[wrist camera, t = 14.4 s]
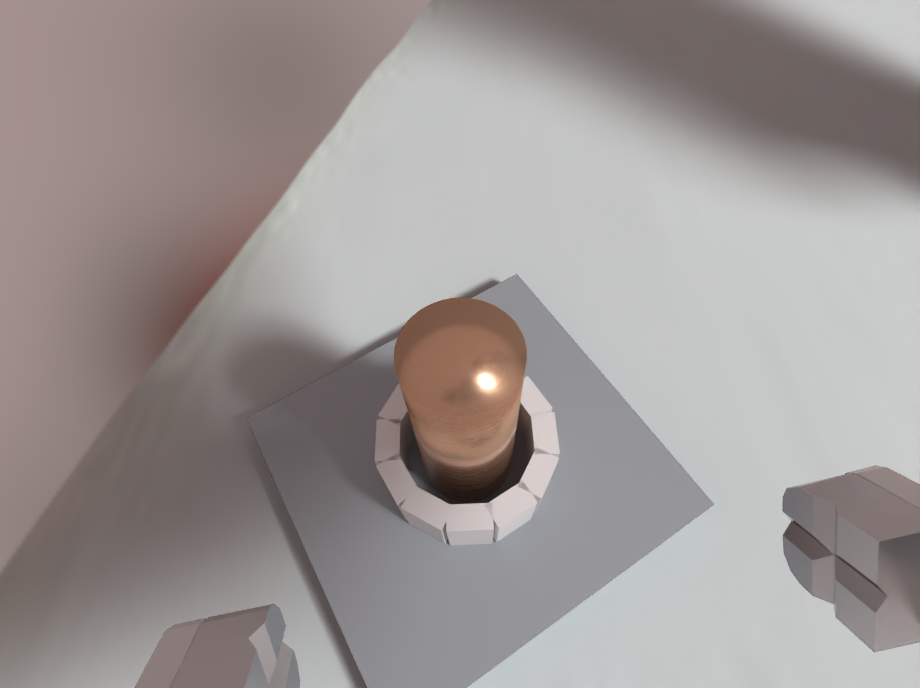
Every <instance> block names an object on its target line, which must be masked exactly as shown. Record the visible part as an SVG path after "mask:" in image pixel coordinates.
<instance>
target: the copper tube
mask: <svg viewBox="0 0 920 688" xmlns="http://www.w3.org/2000/svg"><path fill="white" fill-rule="evenodd" d="M526 361H527V348H526V343H525V340H524V337H523V334H522V332H521V330H520V328H519V327H518V325H517V324H516V323H515V321H514V320H513V319H512V318H511V317H510V316H509V315H508V314H507V313H505V312H504V311H503V310H501V309H500V308H498V307H496V306H494V305H492V304H490V303H488V302H485V301H482V300H477V299H472V298H451V299H446V300H441V301H438V302H435V303H433V304H431V305H428V306H426V307H425V308H423V309H421V310H420V311H418V312H417V313H416V314H415V315H413V316H412V317H411V318H410V319H409V320H408V321H407V323H406V324H405V325H404V327H403V328H402V330H401V332H400V333H399V336H398V338H397V340H396V344H395V348H394V366H395V371H396V374H397V377H398V381H399V384H400V387H401V391H402V394H403V397H404V401H405V404H406V407H407V410H408V414H409V417H410V420H411V424H412V427H413V430H414V434H415V437H416V440H417V443H418V447H419V450H420V453H421V457H422V460H423V463H424V467H425V470H426V473H427V476H428V478H429V480H430V482H431V483H432V484H433V486H434V487H435V488H436V489H437V490H438V491H439V492H440V493H442V494H443V495H445V496H446V497H449V498H451V499H453V500H457V501H462V502H472V501H478V500H482V499H484V498H487V497H488V496H490V495H492V494H493V493H495V492H496V491H497V490H498V489H499V488H500V487H501V486H502V484H503V483H504V482H505V480H506V478H507V476H508V473H509V470H510V466H511V459H512V453H513V446H514V440H515V433H516V427H517V420H518V414H519V407H520V401H521V394H522V388H523V381H524V375H525V368H526Z"/></svg>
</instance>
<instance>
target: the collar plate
mask: <svg viewBox="0 0 920 688" xmlns="http://www.w3.org/2000/svg"><path fill="white" fill-rule="evenodd" d="M472 299H477V300H482V301H485V302H488V303H490V304H492V305H494V306H496V307H498V308H500V309H501V310H503V311H504V312H505V313H507V314H508V315H509V316H510V317H511V318H512V319H513V320H514V321H515V323H516V324H517V325H518V327H519V328H520V330H521V332H522V334H523V337H524V340H525V343H526V348H527V361H526V368H525V375H524V381H523V388H522V394H521V401H520V407H519V414H518V420H517V427H516V433H515V440H514V446H513V453H512V459H511V466H510V470H509V473H508V476H507V478H506V480H505V482H504V483H503V484H502V486H501V487H500V488H499V489H498V490H497V491H496V492H495V493H493V494H492V495H490V496H488V497H487V498H484V499H482V500H478V501H472V502H462V501H457V500H453V499H451V498H449V497H446V496H445V495H443V494H442V493H440V492H439V491H438V490H437V489H436V488H435V487H434V486H433V484H432V483H431V482H430V480H429V478H428V476H427V473H426V470H425V467H424V463H423V460H422V457H421V453H420V450H419V447H418V443H417V440H416V437H415V434H414V430H413V427H412V424H411V420H410V417H409V414H408V410H407V407H406V404H405V401H404V397H403V394H402V391H401V387H400V384H399V381H398V377H397V374H396V371H395V366H394V348H395V344H396V340H397V338H398V337H397V338H395V339H394V340H392V341H390V342H388V343H386V344H384V345H382V346H380V347H379V348H377V349H375V350H373V351H371V352H369V353H367V354H365V355H364V356H362V357H360V358H358V359H356V360H354V361H352V362H350V363H349V364H347V365H345V366H343V367H341V368H339V369H337V370H335V371H334V372H332V373H330V374H328V375H326V376H324V377H322V378H320V379H319V380H317V381H315V382H313V383H311V384H309V385H307V386H305V387H304V388H302V389H300V390H298V391H296V392H294V393H292V394H290V395H289V396H287V397H285V398H283V399H281V400H279V401H277V402H275V403H274V404H272V405H270V406H268V407H266V408H264V409H262V410H260V411H259V412H257V413H255V414H253V415H251V416H249V417H247V418H246V419H247V421H248V424H249V426H250V428H251V430H252V433H253V435H254V437H255V439H256V441H257V444H258V446H259V448H260V450H261V453H262V455H263V457H264V459H265V462H266V464H267V466H268V468H269V470H270V473H271V475H272V477H273V479H274V482H275V484H276V486H277V488H278V490H279V493H280V495H281V497H282V499H283V502H284V504H285V506H286V508H287V510H288V513H289V515H290V517H291V519H292V522H293V524H294V526H295V528H296V531H297V533H298V535H299V537H300V539H301V542H302V544H303V546H304V548H305V551H306V553H307V555H308V557H309V559H310V562H311V564H312V566H313V568H314V571H315V573H316V575H317V577H318V580H319V582H320V584H321V586H322V588H323V591H324V593H325V595H326V597H327V600H328V602H329V604H330V606H331V608H332V611H333V613H334V615H335V617H336V620H337V622H338V624H339V626H340V628H341V631H342V633H343V635H344V637H345V640H346V642H347V644H348V646H349V649H350V651H351V653H352V655H353V657H354V660H355V662H356V664H357V666H358V669H359V671H360V673H361V675H362V677H363V680H364V682H365V684H366V686H367V688H467V687H468V686H470V685H471V684H472V683H474V682H475V681H476V680H478V679H479V678H480V677H482V676H483V675H484V674H486V673H487V672H488V671H490V670H491V669H493V668H494V667H495V666H497V665H498V664H499V663H501V662H502V661H503V660H505V659H506V658H507V657H509V656H510V655H511V654H513V653H514V652H516V651H517V650H518V649H520V648H521V647H522V646H524V645H525V644H526V643H528V642H529V641H530V640H532V639H533V638H534V637H536V636H537V635H539V634H540V633H541V632H543V631H544V630H545V629H547V628H548V627H549V626H551V625H552V624H553V623H555V622H556V621H557V620H559V619H560V618H561V617H563V616H564V615H566V614H567V613H568V612H570V611H571V610H572V609H574V608H575V607H576V606H578V605H579V604H580V603H582V602H583V601H584V600H586V599H587V598H589V597H590V596H591V595H593V594H594V593H595V592H597V591H598V590H599V589H601V588H602V587H603V586H605V585H606V584H607V583H609V582H610V581H612V580H613V579H614V578H616V577H617V576H618V575H620V574H621V573H622V572H624V571H625V570H626V569H628V568H629V567H630V566H632V565H633V564H634V563H636V562H637V561H639V560H640V559H641V558H643V557H644V556H645V555H647V554H648V553H649V552H651V551H652V550H653V549H655V548H656V547H657V546H659V545H660V544H662V543H663V542H664V541H666V540H667V539H668V538H670V537H671V536H672V535H674V534H675V533H676V532H678V531H679V530H680V529H682V528H683V527H685V526H686V525H687V524H689V523H690V522H691V521H693V520H694V519H695V518H697V517H698V516H699V515H701V514H702V513H703V512H705V511H706V510H708V509H709V508H710V507H712V506H713V505H714V503H713V502H712V501H711V500H710V499H709V498H708V496H707V495H706V494H705V493H704V492H703V491H702V489H701V488H700V487H699V486H698V485H697V483H696V482H695V481H694V480H693V479H692V478H691V476H690V475H689V474H688V473H687V472H686V471H685V469H684V468H683V467H682V466H681V465H680V464H679V462H678V461H677V460H676V459H675V458H674V457H673V455H672V454H671V453H670V452H669V451H668V450H667V448H666V447H665V446H664V445H663V444H662V443H661V441H660V440H659V439H658V438H657V437H656V436H655V434H654V433H653V432H652V431H651V430H650V429H649V427H648V426H647V425H646V424H645V423H644V422H643V420H642V419H641V418H640V417H639V416H638V415H637V413H636V412H635V411H634V410H633V409H632V408H631V406H630V405H629V404H628V403H627V402H626V401H625V399H624V398H623V397H622V396H621V395H620V394H619V392H618V391H617V390H616V389H615V388H614V387H613V385H612V384H611V383H610V382H609V381H608V380H607V378H606V377H605V376H604V375H603V374H602V373H601V371H600V370H599V369H598V368H597V367H596V366H595V364H594V363H593V362H592V361H591V360H590V359H589V357H588V356H587V355H586V354H585V353H584V352H583V350H582V349H581V348H580V347H579V346H578V345H577V343H576V342H575V341H574V340H573V339H572V338H571V336H570V335H569V334H568V333H567V332H566V331H565V329H564V328H563V327H562V326H561V325H560V324H559V322H558V321H557V320H556V319H555V318H554V317H553V315H552V314H551V313H550V312H549V311H548V310H547V308H546V307H545V306H544V305H543V304H542V303H541V301H540V300H539V299H538V298H537V297H536V296H535V294H534V293H533V292H532V291H531V290H530V289H529V287H528V286H527V285H526V284H525V283H524V282H523V280H522V279H521V278H520V277H519V276H518V275H517V274H516V275H514V276H512V277H510V278H508V279H506V280H504V281H502V282H501V283H499V284H497V285H495V286H493V287H491V288H489V289H487V290H486V291H484V292H482V293H480V294H478V295H476V296H474V297H472Z"/></svg>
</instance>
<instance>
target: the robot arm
mask: <svg viewBox="0 0 920 688" xmlns="http://www.w3.org/2000/svg"><path fill="white" fill-rule="evenodd" d="M783 512H784V513H785V514H786V515H787V516H788V518H789V519H790V520H791V523H790V524H789V526H788V528H787V529H786V531H785V533H784V534H783V547H784V555H785V558H786V560H787V563H788V565H789V567H790V570H791V572H792V573H793V575H794V576H795V577H796V579H797V580H798V582H799V583H800V584H801V585H802V586H803V587H804V588H805V589H806V590H807V591H808V592H809V593H810V594H811V595H812V596H815V597H817V598H820V599H822V600H825V601H827V602H830V603H832V604H834V610H835V616H836V618H837V619H838V620H839V621H840V622H842V623H843V624H844V625H845V626H846V627H847V628H848V629H849V630H850V631H851V632H852V633H854V634H855V635H856V636H857V637H858V638H859V639H860V640H861V641H862V642H863V643H864V644H866V645H867V646H868V647H869V648H870V649H871V650H872V651H873V652H877V651H882V650H886V649H891V648H895V647H900V646H904V645H909V644H913V643H918V642H920V484H918V483H916V482H914V481H912V480H910V479H908V478H906V477H904V476H902V475H901V474H899V473H897V472H895V471H893V470H891V469H889V468H886V467H880V466H871V467H868V468H864V469H860V470H856V471H852V472H848V473H845V474H844V475H841V476H837V477H832V478H828V479H824V480H819V481H815V482H811V483H806V484H802V485H798V486H793V487H789V488H787V489H786V491H785V493H784V496H783ZM285 627H286V625H285V622H284V619H283V616H282V614H281V611H280V608H279V607H277V606H276V605H274V604H271V605H266V606H261V607H257V608H252V609H247V610H242V611H237V612H232V613H227V614H222V615H217V616H212V617H208V618H207V619H199V620H194V621H190V622H185V623H181V624H176V625H173V626H172V627H170V628H169V629H167V630H166V631H165V632H164V634H163V636H162V638H161V640H160V641H159V643H158V645H157V647H156V649H155V651H154V652H153V654H152V656H151V658H150V660H149V662H148V664H147V665H146V667H145V669H144V671H143V673H142V675H141V677H140V678H139V680H138V682H137V684H136V686H135V688H300V678H299V672H298V665H297V661H296V658H295V654H294V651H293V649H291V648H290V647H288V646H287V645H285V644H284V643H283V642H282V639H283V635H284V631H285Z"/></svg>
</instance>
